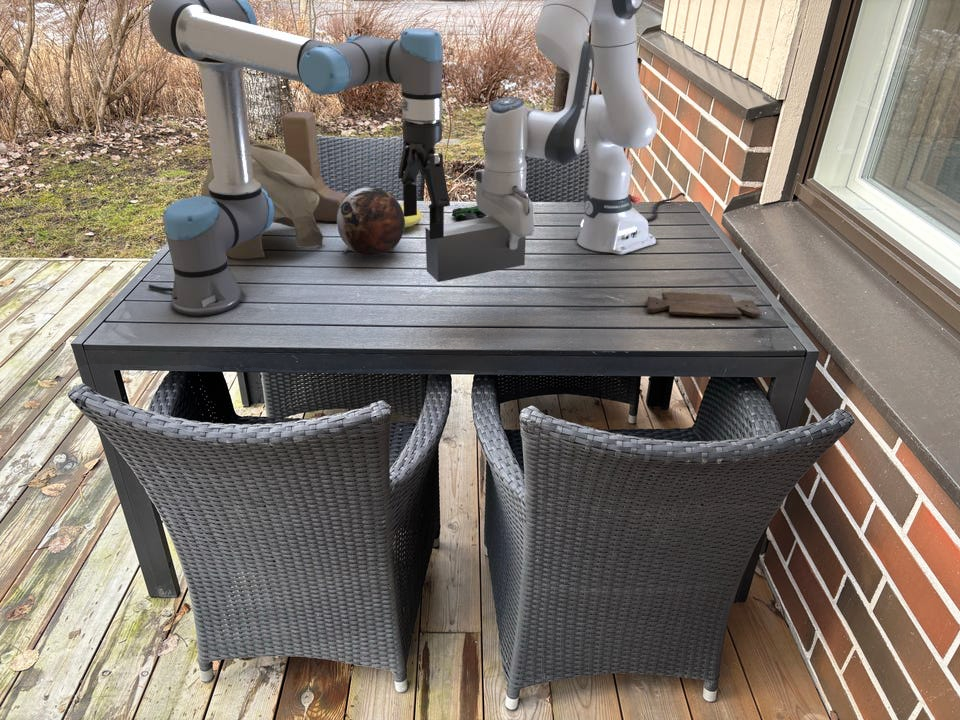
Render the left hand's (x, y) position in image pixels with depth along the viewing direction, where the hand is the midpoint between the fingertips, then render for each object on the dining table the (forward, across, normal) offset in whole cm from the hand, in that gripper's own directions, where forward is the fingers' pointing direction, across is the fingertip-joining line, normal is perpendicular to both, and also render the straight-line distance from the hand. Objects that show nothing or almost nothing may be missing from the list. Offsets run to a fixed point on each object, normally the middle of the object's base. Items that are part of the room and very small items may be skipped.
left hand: (423, 226), depth 146 cm
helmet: (+24, -61, -20) cm, 69 cm away
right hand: (+6, 0, +19) cm, 20 cm away
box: (+11, 0, +12) cm, 17 cm away
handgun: (+23, -55, +42) cm, 73 cm away
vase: (+24, -62, +17) cm, 68 cm away
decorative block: (+24, -77, -1) cm, 81 cm away
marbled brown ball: (+24, -44, +4) cm, 50 cm away
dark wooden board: (+22, +20, +62) cm, 68 cm away
